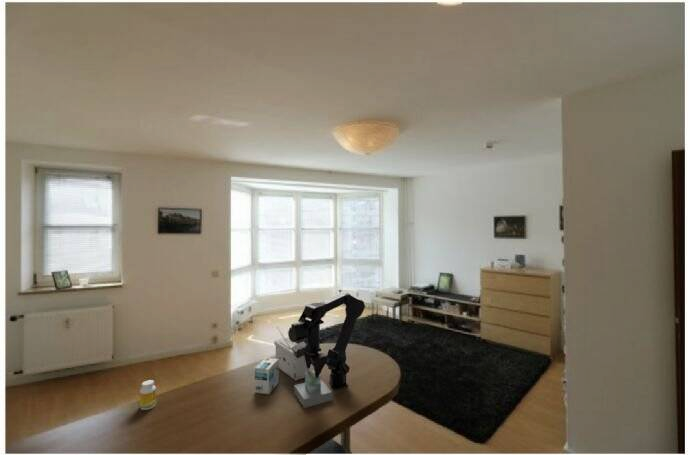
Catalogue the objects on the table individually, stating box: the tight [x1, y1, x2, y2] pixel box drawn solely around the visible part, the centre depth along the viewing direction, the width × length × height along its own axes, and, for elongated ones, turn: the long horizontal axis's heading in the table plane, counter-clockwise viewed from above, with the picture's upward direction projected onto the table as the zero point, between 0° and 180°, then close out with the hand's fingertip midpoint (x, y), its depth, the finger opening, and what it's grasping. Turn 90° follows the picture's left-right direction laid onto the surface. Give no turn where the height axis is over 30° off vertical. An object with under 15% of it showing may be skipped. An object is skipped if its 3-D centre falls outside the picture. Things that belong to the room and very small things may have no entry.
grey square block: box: [293, 379, 333, 409], centre depth 135 cm, size 12×12×4 cm
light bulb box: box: [254, 357, 279, 395], centre depth 142 cm, size 11×7×11 cm, turn 168°
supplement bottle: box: [139, 379, 157, 411], centre depth 127 cm, size 5×5×10 cm
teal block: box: [304, 370, 322, 393], centre depth 135 cm, size 5×5×6 cm
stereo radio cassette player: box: [273, 327, 311, 381], centre depth 156 cm, size 21×8×20 cm, turn 40°
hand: (312, 372), depth 135 cm, fingers open, 9 cm apart
